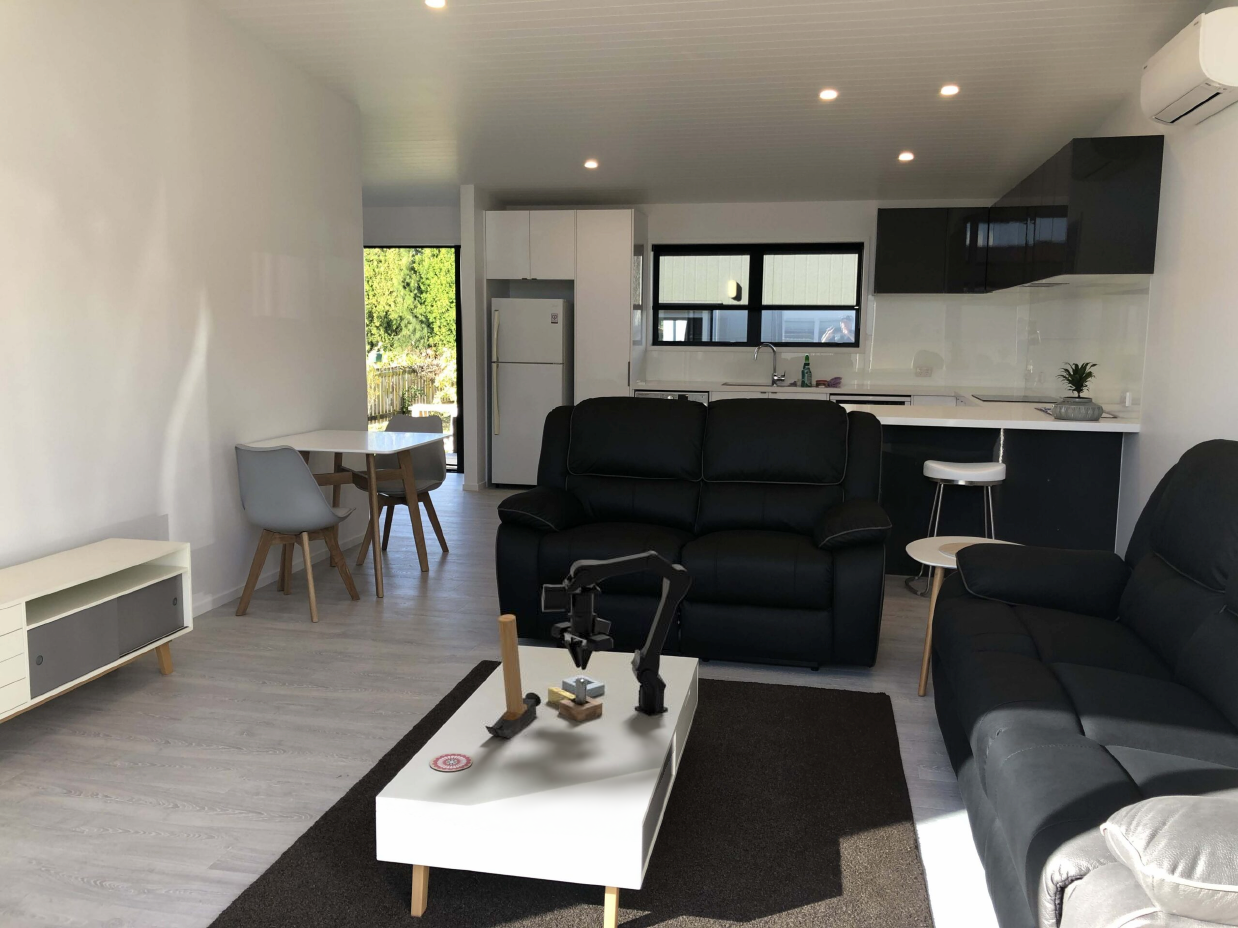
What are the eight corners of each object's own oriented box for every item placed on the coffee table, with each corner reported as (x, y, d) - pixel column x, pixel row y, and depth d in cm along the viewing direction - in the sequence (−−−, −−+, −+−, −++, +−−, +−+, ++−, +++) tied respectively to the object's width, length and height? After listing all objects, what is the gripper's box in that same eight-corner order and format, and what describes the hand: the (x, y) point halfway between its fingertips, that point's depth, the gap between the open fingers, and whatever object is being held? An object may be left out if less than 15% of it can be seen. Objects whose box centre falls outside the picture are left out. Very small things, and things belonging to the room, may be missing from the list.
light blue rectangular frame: (604, 692, 255) (604, 684, 254) (585, 698, 250) (585, 689, 250) (581, 683, 262) (581, 674, 262) (562, 688, 257) (562, 680, 257)
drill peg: (588, 713, 240) (589, 680, 239) (579, 716, 238) (580, 682, 237) (581, 710, 242) (581, 677, 241) (572, 712, 240) (573, 679, 239)
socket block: (602, 713, 239) (602, 702, 239) (578, 721, 234) (578, 710, 234) (582, 705, 245) (582, 694, 245) (559, 712, 240) (559, 701, 240)
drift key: (578, 709, 242) (578, 696, 242) (571, 711, 241) (571, 698, 240) (554, 698, 249) (554, 686, 249) (548, 700, 248) (548, 687, 248)
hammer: (505, 750, 221) (495, 637, 212) (487, 747, 223) (476, 635, 214) (542, 708, 239) (533, 602, 230) (525, 705, 240) (516, 599, 232)
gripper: (629, 612, 235) (628, 671, 237) (582, 597, 249) (582, 653, 251) (596, 620, 228) (595, 680, 230) (550, 604, 242) (549, 661, 243)
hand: (581, 668), depth 238 cm, fingers closed
